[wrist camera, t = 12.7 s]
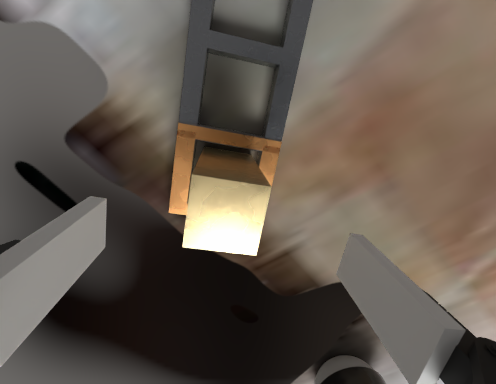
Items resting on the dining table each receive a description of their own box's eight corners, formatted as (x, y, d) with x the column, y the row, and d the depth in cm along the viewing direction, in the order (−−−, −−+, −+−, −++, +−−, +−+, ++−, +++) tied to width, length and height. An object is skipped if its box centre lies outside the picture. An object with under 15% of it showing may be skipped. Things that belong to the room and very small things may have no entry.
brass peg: (250, 154, 28) (271, 186, 16) (242, 197, 29) (256, 255, 18) (204, 146, 27) (191, 174, 15) (198, 191, 28) (182, 247, 17)
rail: (316, -40, 23) (325, -55, 21) (260, 217, 30) (262, 225, 28) (203, -74, 21) (201, -94, 19) (172, 205, 28) (168, 212, 26)
